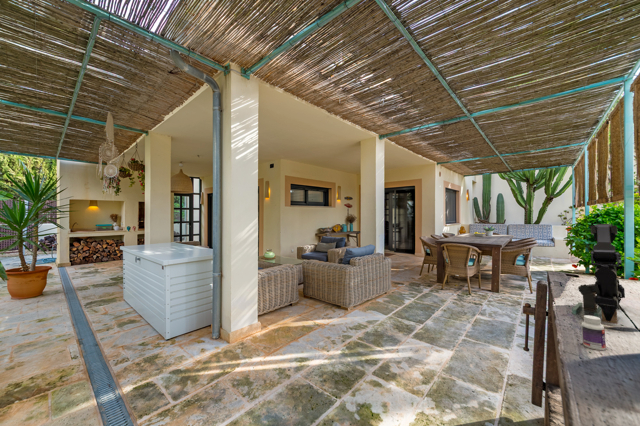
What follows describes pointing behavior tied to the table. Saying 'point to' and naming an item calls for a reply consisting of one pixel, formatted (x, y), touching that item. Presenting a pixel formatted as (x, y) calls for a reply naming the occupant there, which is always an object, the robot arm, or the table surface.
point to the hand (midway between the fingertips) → (609, 318)
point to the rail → (586, 311)
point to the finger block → (613, 320)
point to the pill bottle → (593, 333)
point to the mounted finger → (589, 302)
